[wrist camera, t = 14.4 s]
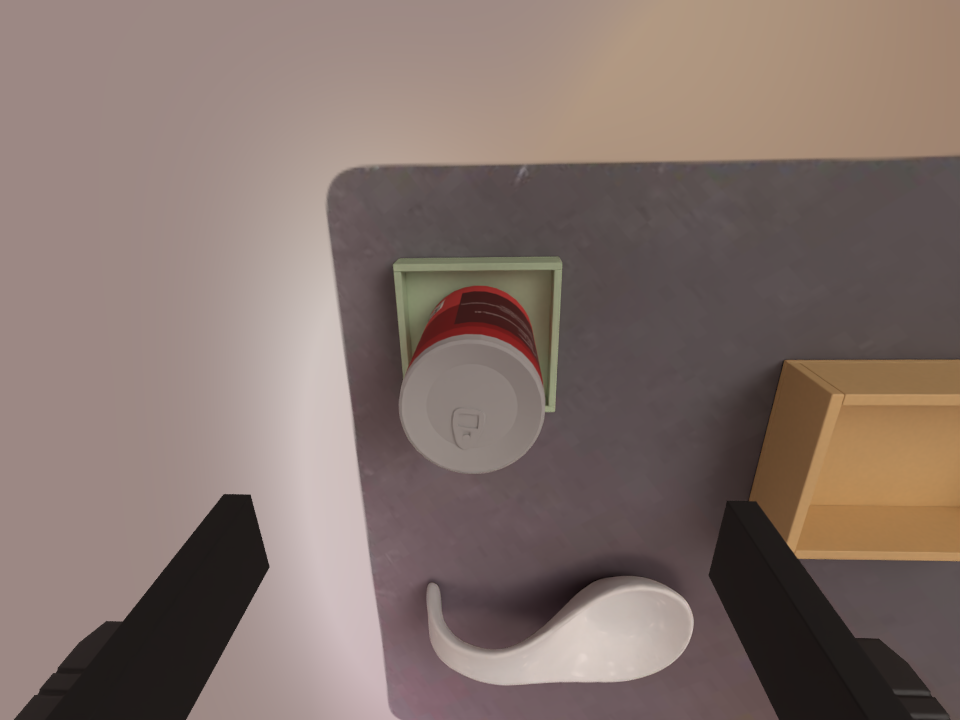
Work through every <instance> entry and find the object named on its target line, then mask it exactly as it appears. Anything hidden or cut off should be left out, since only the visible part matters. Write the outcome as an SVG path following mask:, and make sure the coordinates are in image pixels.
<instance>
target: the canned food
mask: <svg viewBox="0 0 960 720" xmlns="http://www.w3.org/2000/svg"><path fill="white" fill-rule="evenodd" d="M544 414H545V394H544V386H543V379H542V374H541V369H540V364H539V359H538V354H537V350H536V345H535V340H534V335H533V330H532V326H531V323H530V320H529V317H528V315H527V313H526V312H525V310H524V308H523V307H522V306H521V305H520V304H519V303H518V301H517V300H516V299H514V298H513V297H512V296H510V295H509V294H508V293H506V292H504V291H502V290H499V289H497V288H493V287H489V286H470V287H464V288H462V289H459V290H456V291H454V292H452V293H451V294H449V295H448V296H446V297H445V298H444V299H443V300H442V301H441V302H440V303H439V304H438V305H437V306H436V308H435V309H434V311H433V312H432V314H431V316H430V318H429V320H428V322H427V325H426V327H425V329H424V332H423V334H422V336H421V338H420V341H419V343H418V345H417V348H416V350H415V352H414V354H413V357H412V359H411V361H410V364H409V366H408V369H407V371H406V374H405V377H404V379H403V382H402V385H401V391H400V397H399V416H400V420H401V424H402V427H403V430H404V432H405V434H406V436H407V438H408V440H409V441H410V442H411V444H412V445H413V446H414V447H415V449H416V450H417V451H418V452H419V453H420V454H421V455H423V456H424V457H425V458H426V459H427V460H429V461H431V462H432V463H434V464H436V465H437V466H439V467H442V468H445V469H447V470H450V471H454V472H459V473H464V474H480V473H488V472H492V471H495V470H499V469H502V468H504V467H506V466H508V465H510V464H512V463H514V462H515V461H517V460H518V459H519V458H520V457H522V456H523V455H524V454H525V453H526V452H527V451H528V450H529V449H530V447H531V446H532V445H533V444H534V442H535V441H536V439H537V437H538V435H539V433H540V431H541V428H542V425H543V421H544Z"/></svg>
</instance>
